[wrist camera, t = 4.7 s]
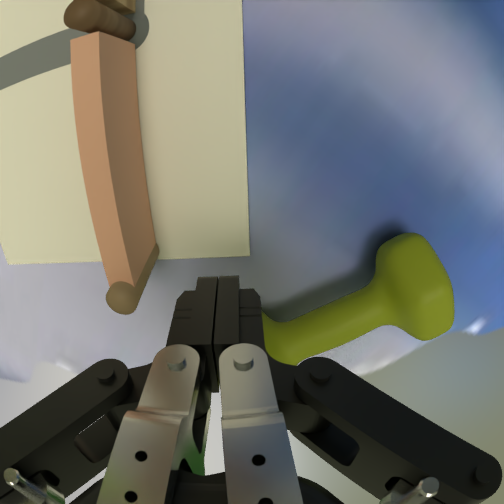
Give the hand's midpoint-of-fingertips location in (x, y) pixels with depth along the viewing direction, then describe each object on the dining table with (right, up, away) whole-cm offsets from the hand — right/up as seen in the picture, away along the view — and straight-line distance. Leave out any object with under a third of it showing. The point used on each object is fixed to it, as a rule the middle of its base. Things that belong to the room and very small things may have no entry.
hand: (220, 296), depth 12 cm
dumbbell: (+7, -1, +12) cm, 14 cm away
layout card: (-10, +15, +2) cm, 18 cm away
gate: (-6, +7, +6) cm, 11 cm away
